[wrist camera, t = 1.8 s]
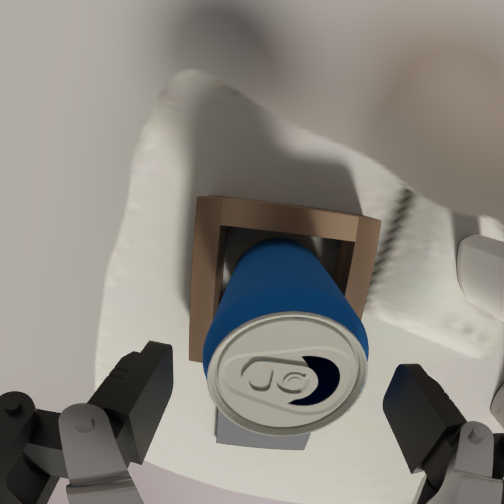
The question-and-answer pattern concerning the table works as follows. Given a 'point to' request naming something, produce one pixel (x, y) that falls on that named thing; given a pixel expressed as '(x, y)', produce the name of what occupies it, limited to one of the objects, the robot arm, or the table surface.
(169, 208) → the table surface
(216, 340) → the beverage can
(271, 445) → the rubber mat
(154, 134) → the table surface
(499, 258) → the eye dropper bottle
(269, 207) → the walnut collar
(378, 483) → the table surface
